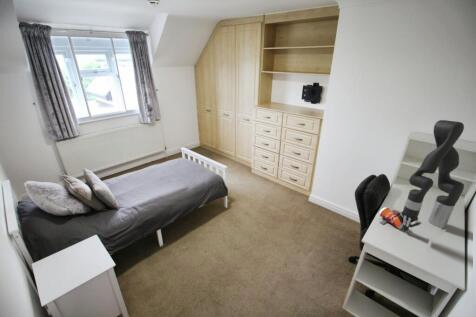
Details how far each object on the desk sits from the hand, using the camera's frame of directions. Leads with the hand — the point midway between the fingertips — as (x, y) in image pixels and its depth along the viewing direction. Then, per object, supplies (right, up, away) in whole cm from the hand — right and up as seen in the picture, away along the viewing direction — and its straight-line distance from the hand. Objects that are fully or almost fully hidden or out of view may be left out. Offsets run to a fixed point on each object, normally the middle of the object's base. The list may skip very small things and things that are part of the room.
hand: (404, 230), depth 138 cm
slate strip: (-5, +2, +11) cm, 12 cm away
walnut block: (+4, +4, +14) cm, 15 cm away
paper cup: (+1, +2, +3) cm, 3 cm away
